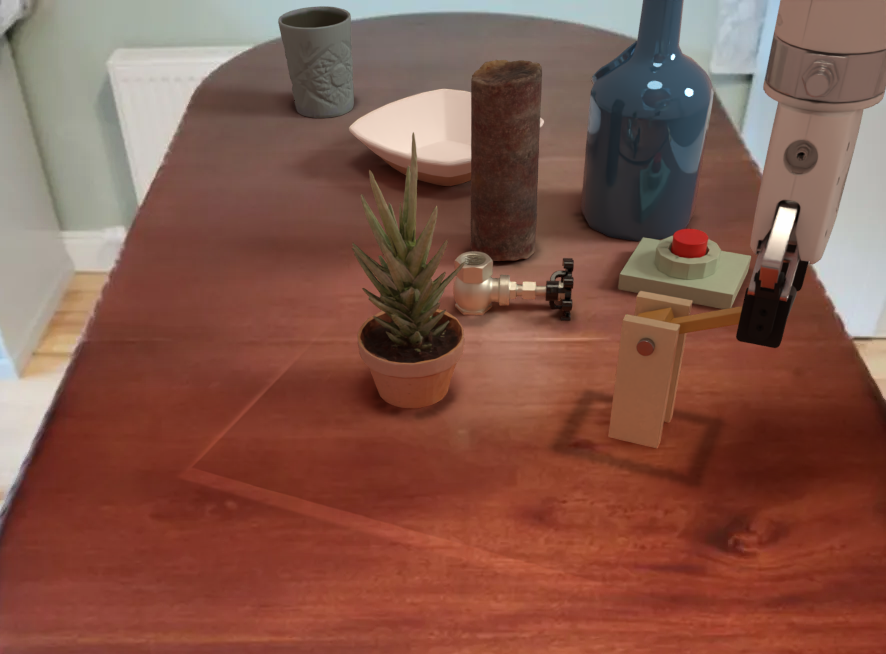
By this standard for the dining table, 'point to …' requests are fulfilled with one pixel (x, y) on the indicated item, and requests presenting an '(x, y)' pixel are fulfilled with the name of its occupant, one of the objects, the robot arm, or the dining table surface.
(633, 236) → the wine bottle
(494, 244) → the brown textured cylinder
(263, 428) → the dining table surface
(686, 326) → the lever
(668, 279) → the button block
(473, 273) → the valve
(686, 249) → the button
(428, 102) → the bowl
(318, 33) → the grey embossed cup
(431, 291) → the potted plant
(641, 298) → the bracket
